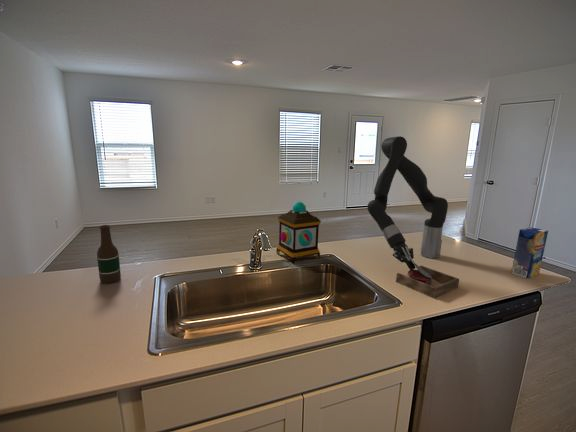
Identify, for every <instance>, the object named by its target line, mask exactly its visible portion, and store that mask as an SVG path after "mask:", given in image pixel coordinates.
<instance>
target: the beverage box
mask: <svg viewBox="0 0 576 432" xmlns="http://www.w3.org/2000/svg"><path fill="white" fill-rule="evenodd" d="M548 233H549V230H546V229H541V228H537V227H527V228H521V229H519V232H518V237H517V242H516V247H515V252H514V257H513V262H512V268H511V271H510V272H511V274H512V275H515V276H518V277H522V278H525V279H530V278H533V277H536V276H538V275H540V271H541V266H542V262H543V256H544V253H545V248H546V243H547V239H548Z"/></svg>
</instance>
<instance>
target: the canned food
mask: <svg viewBox="0 0 576 432" xmlns="http://www.w3.org/2000/svg"><path fill="white" fill-rule="evenodd" d="M412 262H413V264H414V265H415V267H416V268H415V269H413V270H410V269H409V270H408V271H407V274H406V276H408V277H410V278H413V279H415V280H418V281H420V282H423V283H425V284H427V285H430V286H431V284H432V280H433V279H432V276H431V275H430V274H428V273H427V272H426V271H425V270H423V269H422V268H420V265H418V264H417V263H415V261H414V260H412Z"/></svg>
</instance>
